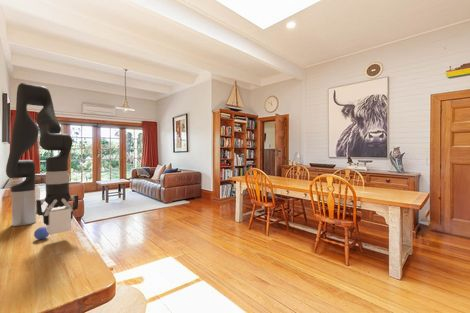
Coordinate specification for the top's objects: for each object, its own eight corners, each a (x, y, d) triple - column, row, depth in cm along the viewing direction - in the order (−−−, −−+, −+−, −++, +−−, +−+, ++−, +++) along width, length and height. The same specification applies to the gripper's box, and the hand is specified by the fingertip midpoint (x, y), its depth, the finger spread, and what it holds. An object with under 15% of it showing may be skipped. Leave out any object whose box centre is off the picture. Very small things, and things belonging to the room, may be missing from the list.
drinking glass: (32, 213, 142) (31, 189, 141) (23, 212, 143) (22, 188, 143) (43, 210, 148) (42, 187, 148) (35, 210, 150) (34, 187, 149)
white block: (46, 230, 94) (45, 209, 94) (66, 226, 99) (66, 206, 99) (50, 234, 89) (49, 212, 89) (71, 230, 95) (70, 208, 94)
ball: (33, 239, 97) (32, 227, 96) (48, 236, 100) (47, 224, 100) (35, 242, 93) (35, 230, 93) (51, 238, 97) (50, 226, 97)
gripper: (75, 179, 102) (76, 217, 102) (32, 183, 91) (33, 225, 91) (80, 181, 97) (81, 220, 97) (36, 185, 86) (37, 229, 86)
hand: (58, 222), depth 94 cm, fingers closed on white block, 7 cm apart
